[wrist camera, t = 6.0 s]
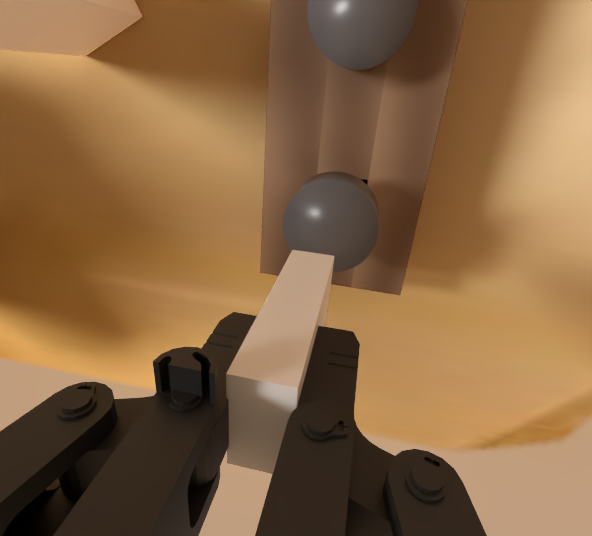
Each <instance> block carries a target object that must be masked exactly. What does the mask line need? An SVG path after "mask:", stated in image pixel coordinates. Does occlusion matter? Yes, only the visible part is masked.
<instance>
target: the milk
mask: <svg viewBox="0 0 592 536" xmlns="http://www.w3.org/2000/svg"><path fill="white" fill-rule="evenodd" d="M141 18H142V14H141V12H140V10H139V8H138V6H137V4H136V2H135V0H0V50H11V51H24V52H37V53H50V54H63V55H75V56H86V55H88V54H89V53H91V52H92V51H94V50H95V49H97V48H98V47H100V46H101V45H103V44H104V43H105V42H107V41H108V40H110V39H111V38H113V37H114V36H116V35H117V34H119V33H120V32H122V31H123V30H124V29H126V28H127V27H129V26H130V25H132V24H133V23H135V22H136V21H138V20H139V19H141Z"/></svg>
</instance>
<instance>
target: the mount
mask: <svg viewBox="0 0 592 536" xmlns="http://www.w3.org/2000/svg"><path fill="white" fill-rule="evenodd" d="M467 1H468V0H417V9H416V14H415V19H414V22H413V25H412V27H411V30H410V32H409V34H408V36H407V38H406V39H405V41H404V43H403V44H402V46H401V47H400V48H399V50H398V51H397V52H396V53H395V54H394V55H393V56H392V57H391V58H390V59H389V60H387V61H386V62H384V63H383V64H381V65H379V66H377V67H374V68H371V69H367V70H352V69H348V68H345V67H342V66H339V65H337V64H335V63H333V62H332V61H331V60H329V59H328V58H327V57H326V56H325V55H324V54H323V53H322V52H321V51H320V50H319V48H318V47H317V45H316V43H315V41H314V39H313V37H312V34H311V31H310V28H309V23H308V14H307V13H308V0H271V16H270V41H269V66H268V91H267V117H266V142H265V167H264V192H263V218H262V243H261V268H260V273H266V274H272V275H278V276H279V274H280V272H281V270H282V268H283V266H284V265H285V263H286V261H287V259H288V257H289V255H290V253H291V251H290V249H289V247H288V245H287V243H286V241H285V238H284V234H283V217H284V213H285V210H286V208H287V206H288V204H289V202H290V201H291V199H292V198H293V197H294V195H295V194H296V193H297V191H298V190H299V189H300V188H301V186H302V185H303V184H304V183H305V182H306V181H308V180H309V179H310V178H312V177H314V176H316V175H318V174H321V173H324V172H330V171H339V172H345V173H348V174H352V175H354V176H356V177H358V178H359V179H366V180H368V182H367V186H368V187H369V188H370V189H371V191H372V192H373V194H374V196H375V198H376V200H377V203H378V209H379V231H378V238H377V242H376V244H375V247H374V249H373V250H372V252H371V253H370V255H369V256H368V257H367V258H366V259H365V260H364V261H363V262H362V263H360V264H359V265H357V266H356V267H354V268H351V269H349V270H346V271H342V272H332V280H331V284H334V285H340V286H346V287H353V288H359V289H365V290H371V291H377V292H383V293H390V294H396V295H400V294H401V290H402V285H403V281H404V277H405V272H406V268H407V264H408V259H409V255H410V250H411V246H412V242H413V237H414V233H415V229H416V224H417V220H418V215H419V211H420V207H421V202H422V198H423V194H424V189H425V185H426V180H427V176H428V172H429V167H430V163H431V159H432V154H433V150H434V146H435V141H436V137H437V132H438V128H439V124H440V119H441V115H442V111H443V106H444V102H445V97H446V93H447V89H448V84H449V80H450V76H451V71H452V67H453V63H454V58H455V54H456V49H457V45H458V41H459V36H460V32H461V28H462V23H463V19H464V14H465V10H466V6H467Z"/></svg>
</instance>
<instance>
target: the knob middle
mask: <svg viewBox="0 0 592 536" xmlns="http://www.w3.org/2000/svg"><path fill="white" fill-rule="evenodd" d="M416 9H417V0H308V13H307V14H308V23H309V28H310V31H311V34H312V37H313V39H314V41H315V43H316V45H317V47H318V48H319V50H320V51H321V52H322V53H323V54H324V55H325V56H326V57H327V58H328V59H329V60H331V61H332V62H333V63H335V64H337V65H339V66H342V67H345V68H348V69H352V70H367V69H371V68H374V67H377V66H379V65H381V64H383V63H384V62H386V61H387V60H389V59H390V58H391V57H392V56H393V55H394V54H395V53H396V52H397V51H398V50H399V48H400V47H401V46H402V44H403V43H404V41H405V39H406V38H407V36H408V34H409V32H410V30H411V27H412V25H413V22H414V19H415V14H416Z"/></svg>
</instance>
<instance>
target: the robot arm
mask: <svg viewBox="0 0 592 536" xmlns="http://www.w3.org/2000/svg"><path fill="white" fill-rule="evenodd" d="M333 264H334V256H332V255H325V254H319V253H312V252H305V251H298V250H292V251H291V253H290V255H289V257H288V259H287V261H286V263H285V265H284V266H283V268H282V270H281V272H280V274H279V276H278V278H277V280H276V281H275V283H274V285H273V287H272V289H271V291H270V293H269V295H268V296H267V298H266V300H265V302H264V304H263V306H262V308H261V310H260V311H259V313H258V315H257V316H253V315H247V314H241V313H236V312H233V313H231V314H230V315H228V316H227V317H225V318H224V319H222V320H220V322H219V323H218V325H217V326H216V328H215V329H214V331H213V334H211V335H210V337H209V338H208V340H207V342H206V343H205V344H204V346H203V347H202V349H200V348H197V347H182V348H176V349H172V350H170V351H167V352H165V353H163V354H161V355H160V356H159V357H158V358H156V359H155V360H154V361H153V366H154V374H155V383H156V391H157V392H156V394H155V395H154V396H151V397H144V398H129V399H114V396H113V392H112V390H111V389H110V388H109V387H107V386H106V385H105V384H101V383H97V382H82V383H78V384H75V385H72V386H68V387H66V388H64V389H62V390H61V391H59V392H57V393H55V394H54V395H52V396H51V397H49V398H48V399H46V400H45V401H44V402H42V403H41V404H39V405H38V406H36V407H35V408H34V409H32V410H31V411H29V412H28V413H26V414H25V415H23V416H22V417H20V418H19V419H18V420H16V421H15V422H13V423H12V424H10V425H9V426H8V427H6V428H5V429H3V430H2V431H1V432H0V536H198V535H199V533H200V530H201V528H202V525H203V522H204V520H205V518H206V515H207V513H208V510H209V508H210V505H211V503H212V500H213V498H214V495H215V493H216V490H217V488H218V484H219V479H220V465H221V462H222V460H223V458H224V455H225V453H226V451H227V463H230V464H233V465H238V466H242V467H247V468H250V469H255V470H259V471H263V472H267V473H272V474H273V475H272V478H271V482H270V486H269V489H268V492H267V496H266V499H265V503H264V507H263V510H262V514H261V517H260V521H259V524H258V528H257V531H256V535H255V536H487V535H486V533H485V531H484V529H483V526H482V525H481V522H480V520H479V518H478V515H477V513H476V511H475V509H474V506H473V504H472V502H471V500H470V497H469V495H468V493H467V491H466V488H465V486H464V484H463V482H462V481H461V479H460V477H459V476H458V474H457V473H456V471H455V470H454V468H452V467H451V466H450V465H449V464H448V463H447V462H446V461H444V460H443V459H442V458H440V457H438V456H436V455H434V454H432V453H430V452H428V451H423V450H417V449H412V450H406V451H402V452H400V453H399V454H397V455H396V456H394V455H392V454H390V453H388V452H386V451H384V450H382V449H380V448H378V447H377V446H375V445H374V444H372V443H371V442H369V441H368V440H367V439H366V438H365V437H364V436H363V435H362V433H361V432H360V431H359V429H358V428H357V425H356V423H355V420H354V403H355V391H356V380H357V368H358V357H359V346H360V344H359V342H358V340H357V338H356V336H355V334H354V332H351V331H346V330H340V329H334V328H328V327H325V324H326V319H327V311H328V304H329V296H330V288H331V280H332V272H333Z"/></svg>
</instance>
